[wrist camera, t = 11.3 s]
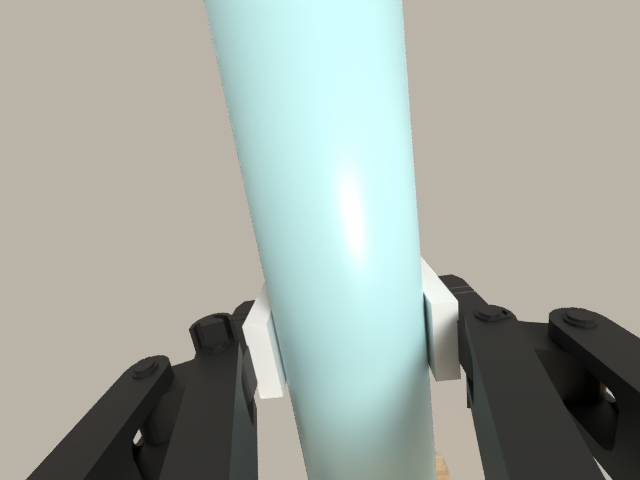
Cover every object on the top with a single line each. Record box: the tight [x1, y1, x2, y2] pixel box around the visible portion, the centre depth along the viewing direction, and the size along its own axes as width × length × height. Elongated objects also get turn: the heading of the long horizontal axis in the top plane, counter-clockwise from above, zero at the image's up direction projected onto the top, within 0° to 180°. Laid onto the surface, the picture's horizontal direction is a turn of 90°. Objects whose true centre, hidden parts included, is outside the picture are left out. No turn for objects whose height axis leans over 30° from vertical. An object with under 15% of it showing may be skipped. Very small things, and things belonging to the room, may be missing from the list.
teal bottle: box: [204, 0, 437, 480], centre depth 11 cm, size 5×5×24 cm
